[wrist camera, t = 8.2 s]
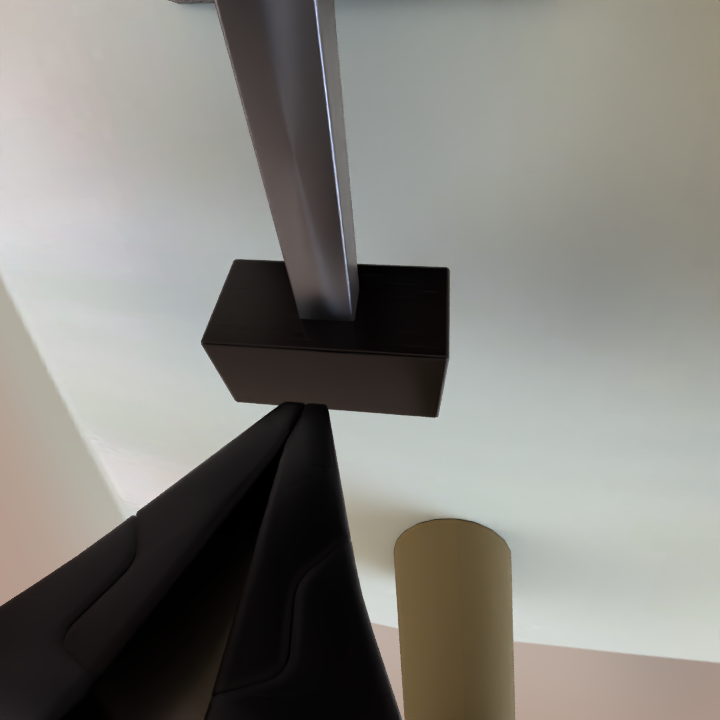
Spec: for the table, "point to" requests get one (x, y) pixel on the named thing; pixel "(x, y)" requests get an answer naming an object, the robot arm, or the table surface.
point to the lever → (317, 243)
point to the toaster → (192, 1)
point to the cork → (455, 622)
